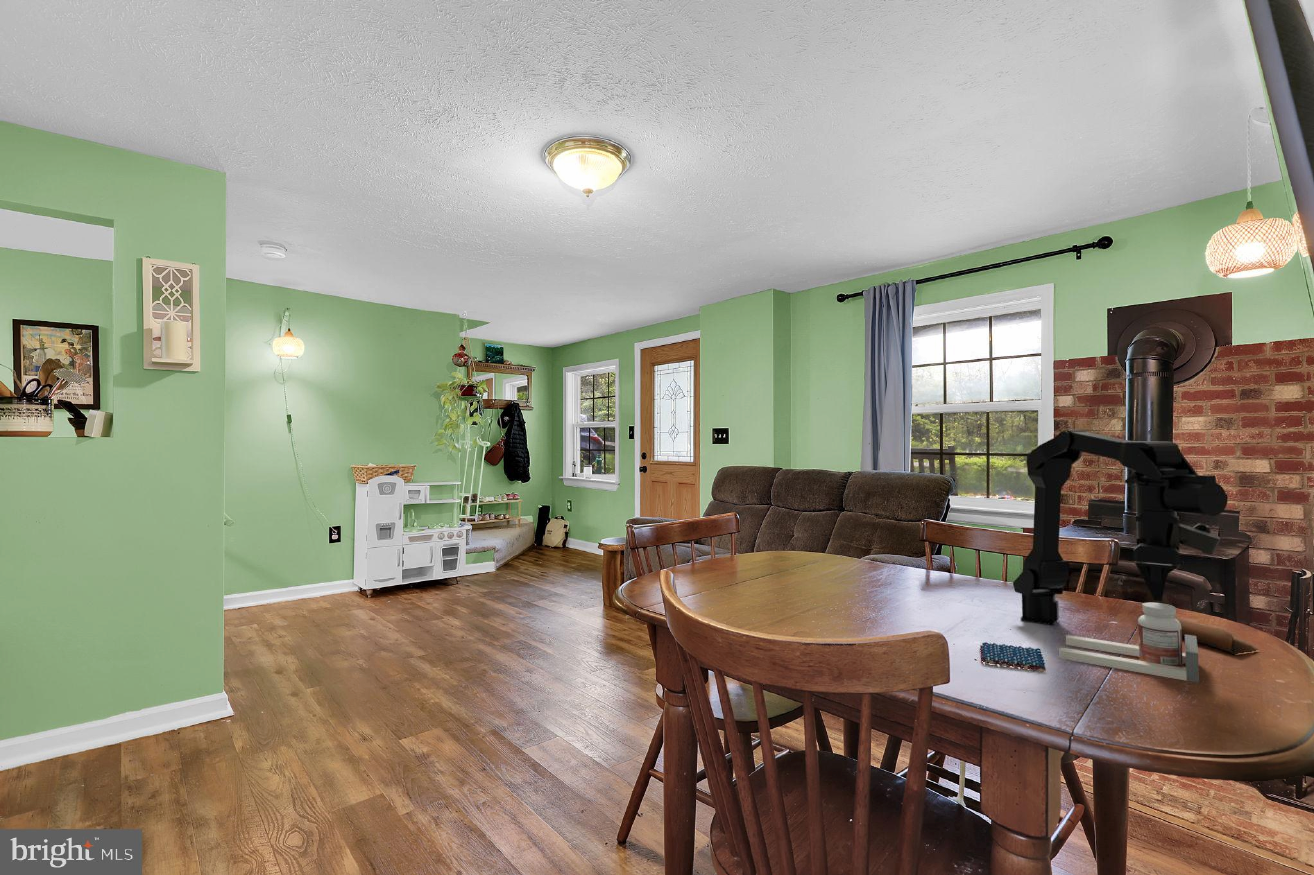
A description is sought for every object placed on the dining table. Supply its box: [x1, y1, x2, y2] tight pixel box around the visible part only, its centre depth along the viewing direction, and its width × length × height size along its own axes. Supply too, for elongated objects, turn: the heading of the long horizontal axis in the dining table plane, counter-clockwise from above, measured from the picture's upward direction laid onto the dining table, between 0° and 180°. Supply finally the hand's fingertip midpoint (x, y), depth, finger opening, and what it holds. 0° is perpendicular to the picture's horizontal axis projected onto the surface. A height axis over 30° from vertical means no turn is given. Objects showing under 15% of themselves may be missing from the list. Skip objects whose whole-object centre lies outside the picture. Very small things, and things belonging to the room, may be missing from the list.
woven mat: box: [979, 641, 1047, 673], centre depth 117 cm, size 10×11×2 cm
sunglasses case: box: [1174, 615, 1259, 655], centre depth 126 cm, size 18×7×7 cm
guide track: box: [1058, 634, 1200, 684], centre depth 115 cm, size 20×12×5 cm, turn 50°
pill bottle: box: [1137, 602, 1184, 668], centre depth 112 cm, size 6×6×11 cm
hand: (1158, 595), depth 112 cm, fingers open, 9 cm apart
